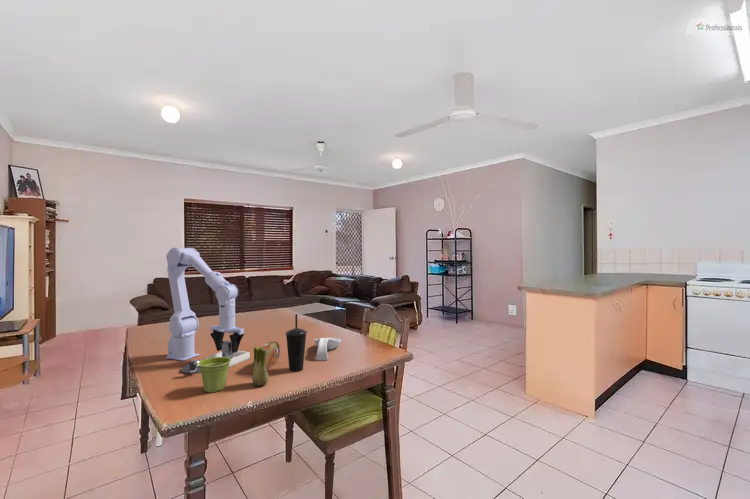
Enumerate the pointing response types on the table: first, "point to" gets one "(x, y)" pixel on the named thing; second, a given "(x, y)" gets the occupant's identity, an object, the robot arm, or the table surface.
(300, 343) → the drinking cup
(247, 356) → the tray
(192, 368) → the crank
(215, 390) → the plant pot
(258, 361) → the fennel bulb
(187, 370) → the crank base
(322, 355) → the spoon rest
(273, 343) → the tin
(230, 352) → the cylinder
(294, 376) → the table surface
